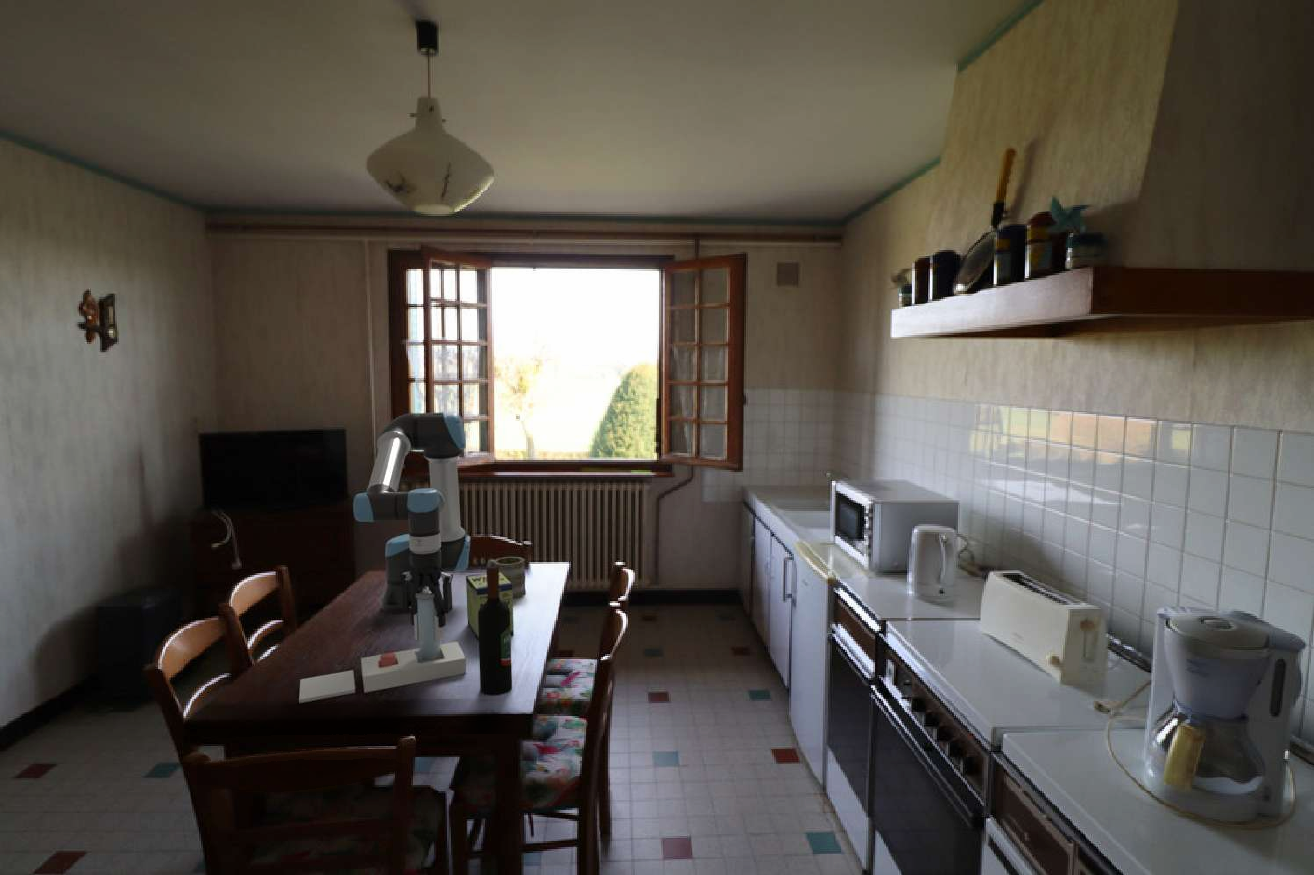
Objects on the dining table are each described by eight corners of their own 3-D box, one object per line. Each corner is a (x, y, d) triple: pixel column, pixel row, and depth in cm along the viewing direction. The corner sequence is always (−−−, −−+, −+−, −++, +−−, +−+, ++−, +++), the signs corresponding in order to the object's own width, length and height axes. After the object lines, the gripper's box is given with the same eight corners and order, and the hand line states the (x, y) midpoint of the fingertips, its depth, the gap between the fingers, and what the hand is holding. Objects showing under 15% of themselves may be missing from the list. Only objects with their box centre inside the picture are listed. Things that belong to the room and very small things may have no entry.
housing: (361, 673, 177) (361, 658, 177) (457, 655, 188) (457, 641, 187) (364, 692, 167) (363, 676, 166) (466, 673, 177) (465, 657, 177)
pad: (300, 682, 172) (300, 679, 172) (353, 673, 177) (353, 670, 177) (299, 703, 162) (299, 699, 161) (355, 692, 167) (355, 689, 167)
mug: (532, 593, 241) (531, 559, 239) (510, 601, 232) (509, 566, 230) (499, 585, 249) (498, 553, 248) (477, 594, 240) (476, 560, 239)
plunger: (380, 671, 175) (379, 654, 175) (395, 668, 177) (394, 651, 176) (381, 677, 172) (380, 659, 172) (397, 674, 174) (396, 657, 173)
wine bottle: (483, 682, 172) (479, 563, 169) (513, 680, 172) (510, 562, 170) (477, 696, 164) (473, 572, 161) (510, 694, 165) (506, 571, 162)
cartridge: (414, 659, 177) (411, 595, 175) (425, 650, 182) (422, 587, 180) (434, 661, 176) (431, 596, 174) (445, 652, 181) (442, 589, 179)
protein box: (478, 642, 197) (477, 589, 196) (466, 624, 211) (465, 575, 209) (514, 635, 202) (513, 583, 200) (500, 619, 216) (499, 570, 214)
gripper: (384, 552, 174) (388, 642, 176) (452, 555, 171) (455, 646, 173) (400, 544, 181) (404, 630, 184) (465, 547, 178) (468, 634, 181)
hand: (429, 638), depth 178 cm, fingers closed on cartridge, 5 cm apart
